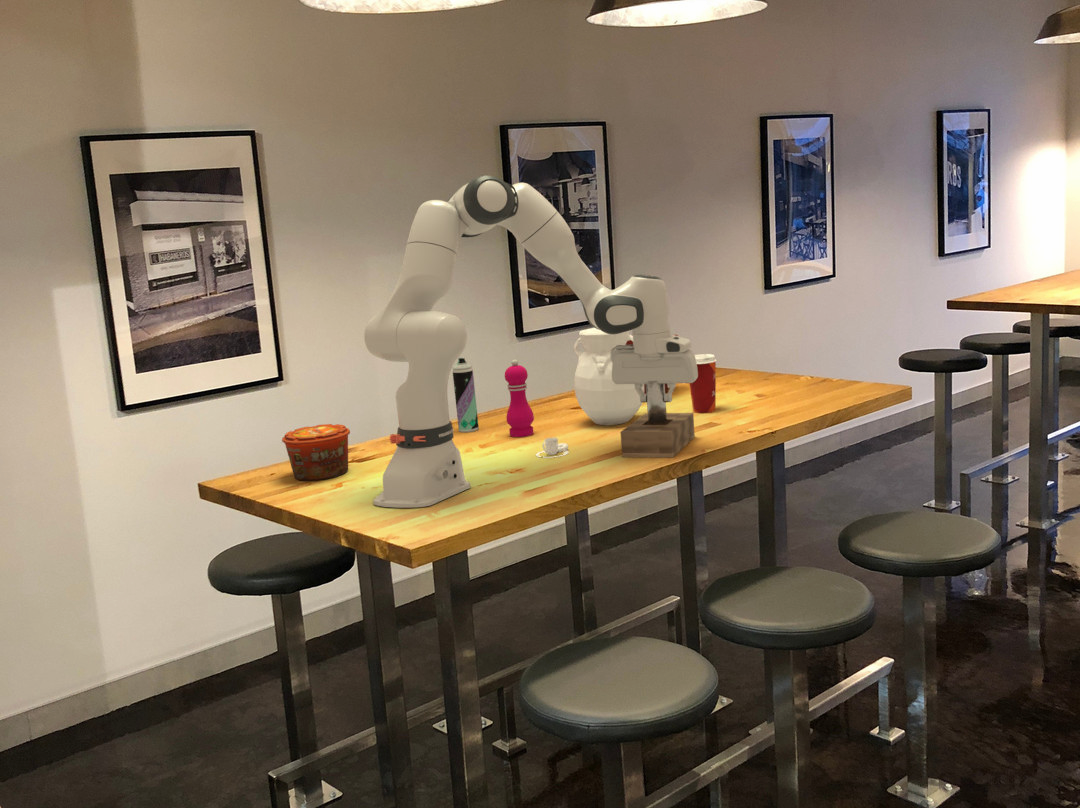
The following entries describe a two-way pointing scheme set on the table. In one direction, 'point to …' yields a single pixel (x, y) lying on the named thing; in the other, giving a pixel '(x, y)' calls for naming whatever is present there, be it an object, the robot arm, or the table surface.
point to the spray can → (465, 396)
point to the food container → (318, 451)
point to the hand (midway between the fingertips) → (656, 401)
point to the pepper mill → (518, 402)
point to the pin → (656, 402)
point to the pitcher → (603, 379)
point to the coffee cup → (704, 384)
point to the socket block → (657, 436)
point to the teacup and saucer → (553, 447)
